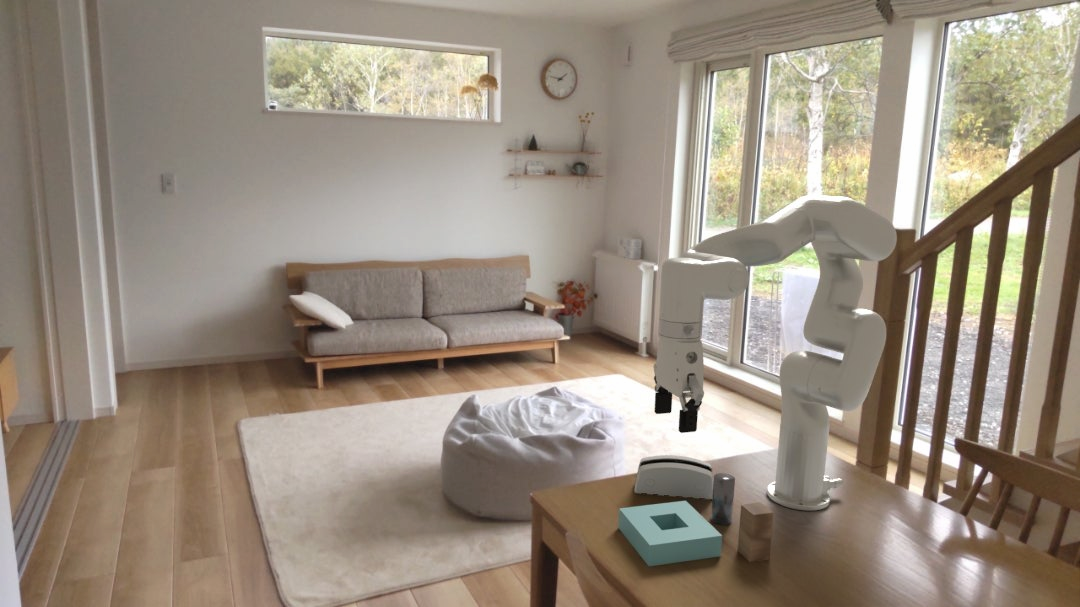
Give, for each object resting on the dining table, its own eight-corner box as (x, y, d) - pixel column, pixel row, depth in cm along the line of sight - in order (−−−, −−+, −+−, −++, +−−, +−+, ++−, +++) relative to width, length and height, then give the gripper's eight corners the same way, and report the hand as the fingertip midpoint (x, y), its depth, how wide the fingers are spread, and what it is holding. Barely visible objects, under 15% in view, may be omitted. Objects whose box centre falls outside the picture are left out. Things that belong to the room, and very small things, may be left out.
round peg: (725, 514, 145) (728, 472, 143) (735, 523, 141) (739, 480, 139) (707, 516, 144) (710, 474, 142) (717, 526, 140) (720, 482, 138)
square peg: (756, 547, 132) (760, 502, 131) (769, 559, 129) (773, 512, 127) (737, 550, 131) (741, 504, 130) (749, 562, 127) (753, 515, 126)
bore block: (684, 519, 142) (685, 500, 142) (720, 556, 129) (722, 535, 128) (618, 527, 139) (619, 508, 138) (648, 566, 125) (649, 545, 125)
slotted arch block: (712, 489, 156) (716, 454, 151) (713, 505, 152) (718, 470, 147) (634, 482, 159) (636, 448, 153) (633, 498, 155) (635, 463, 149)
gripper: (724, 339, 119) (717, 437, 122) (677, 318, 135) (672, 405, 139) (683, 341, 117) (677, 441, 120) (640, 319, 133) (636, 408, 137)
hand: (674, 422), depth 129 cm, fingers open, 9 cm apart
